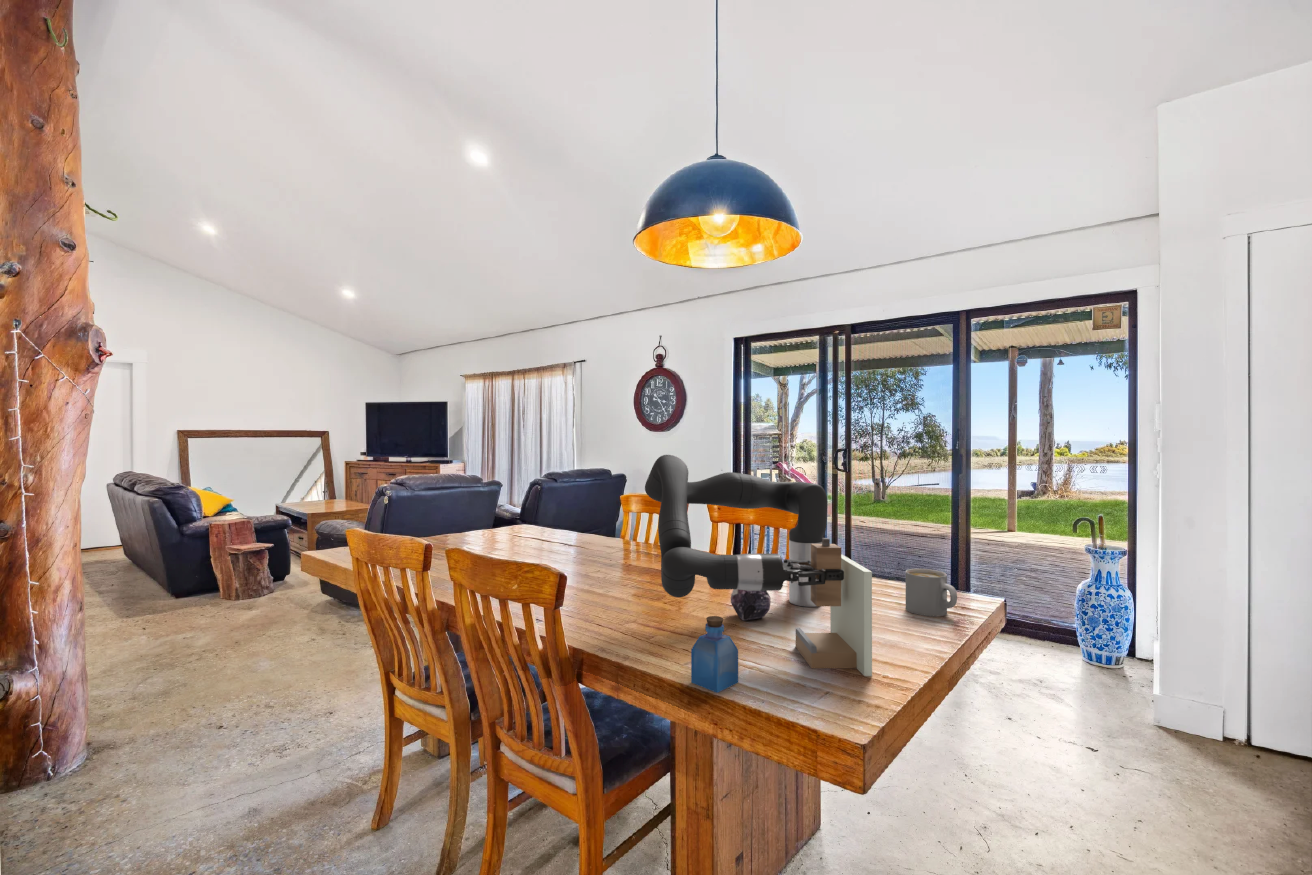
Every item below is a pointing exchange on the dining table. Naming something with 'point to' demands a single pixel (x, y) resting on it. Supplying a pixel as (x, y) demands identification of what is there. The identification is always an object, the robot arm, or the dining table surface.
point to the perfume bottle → (714, 658)
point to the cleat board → (844, 626)
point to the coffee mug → (928, 592)
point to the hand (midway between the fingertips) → (838, 571)
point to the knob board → (827, 559)
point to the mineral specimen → (750, 603)
